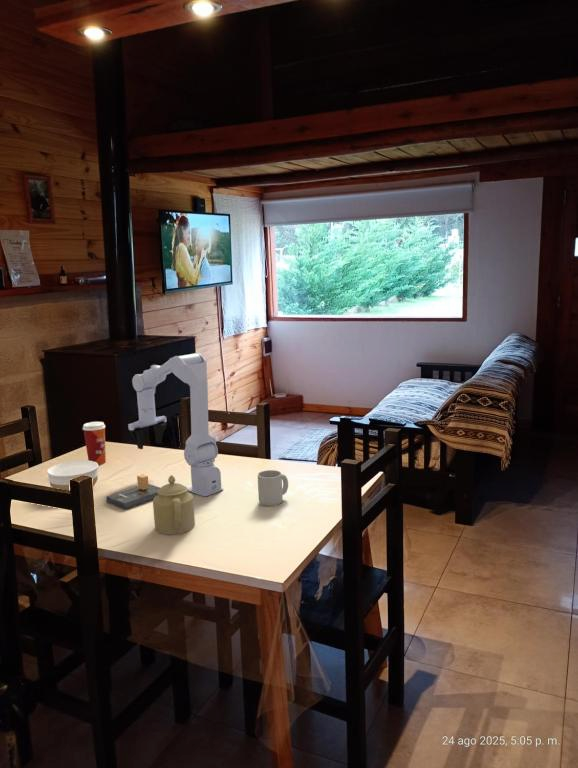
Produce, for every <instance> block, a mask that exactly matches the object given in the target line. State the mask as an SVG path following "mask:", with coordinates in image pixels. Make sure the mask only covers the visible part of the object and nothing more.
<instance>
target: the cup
mask: <svg viewBox="0 0 578 768" xmlns="http://www.w3.org/2000/svg"><path fill="white" fill-rule="evenodd" d="M288 489H289V480H288V478H287V476H286V475H285V474H283V473H282V472H281V471H280V470H277V469H267V470H266V469H265V470H262V471H260V472H258V473H257V490H258V494H257V495H258V502H259V505H261V506H265V507H274V506H275V505H276V506H278V504H279V505H281V504H282V503H281V502H283V496H284V495H285V494H286V493H287V492H288ZM280 503H281V504H280ZM276 506H275V507H276Z"/></svg>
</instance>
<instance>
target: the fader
mask: <svg viewBox="0 0 578 768" xmlns="http://www.w3.org/2000/svg"><path fill="white" fill-rule="evenodd" d="M136 481H137V482H136V483H137V486H138V488H139V489H142V490H145V489H148V488H149V484H150V483H149V476H148V475H145V474H140V475H136Z"/></svg>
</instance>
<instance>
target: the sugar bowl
mask: <svg viewBox="0 0 578 768" xmlns="http://www.w3.org/2000/svg"><path fill="white" fill-rule="evenodd" d="M167 481H168V483H166V484H163V485H162V486H161V487H160V489H158V490H157V493H158V496H156V497H155V498H154V499H153V500H152V508H153V518H154V519H153V520H154V528H155V531H156V532H157V533H159V534H162V535H179V534H184V533H186V532H189V531H191V530H192V529H193V528H194V527H195V525H196V522H195V521H196V519H195V504H194V496H193V494H192V492H189V491H187V490H188V488H189V487H187V486H185V485H183V484H181V483H177V482H176V478H175V476H174V475H173V474H171V475H170V476H169V477H168V480H167Z"/></svg>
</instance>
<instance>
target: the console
mask: <svg viewBox="0 0 578 768" xmlns="http://www.w3.org/2000/svg"><path fill="white" fill-rule="evenodd" d="M148 484H149V488H148V489H145V490H142V489H139V488H138V485H137V486H133V487H130V488H127V489H124V490H121V491H118V492H115V493H111V494H109V495H106V496H105V499H106V503H107V504H108V505H109V504H110V505H113V506H114V507H117V508H119V509H122V510H125V511H126V510H128V509H131V508H134V507H137V506H140V505H143V504H145V503H148V502H149V503H150V502H151V501H153V499H154V498H155V497H156V496H158V493H157V490H158V489H160V488H161V487H159V486H157V485H153V484H151V483H148Z"/></svg>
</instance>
